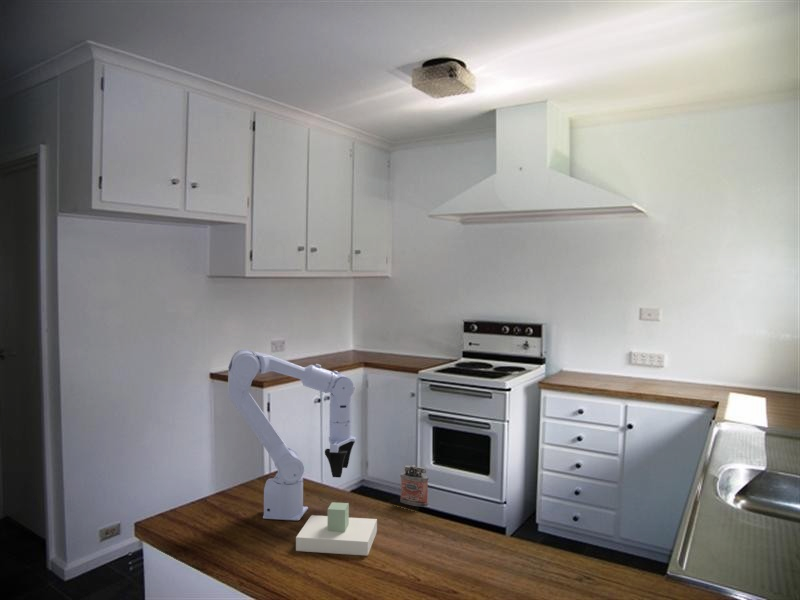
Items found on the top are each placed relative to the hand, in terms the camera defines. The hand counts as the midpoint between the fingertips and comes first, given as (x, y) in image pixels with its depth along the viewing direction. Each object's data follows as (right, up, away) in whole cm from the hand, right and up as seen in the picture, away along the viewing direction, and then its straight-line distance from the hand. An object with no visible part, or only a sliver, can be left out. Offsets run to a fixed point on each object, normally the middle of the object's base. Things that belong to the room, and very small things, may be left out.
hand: (340, 472), depth 146 cm
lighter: (+20, -10, +4) cm, 22 cm away
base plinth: (+2, -10, -19) cm, 22 cm away
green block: (+2, -7, -19) cm, 20 cm away
